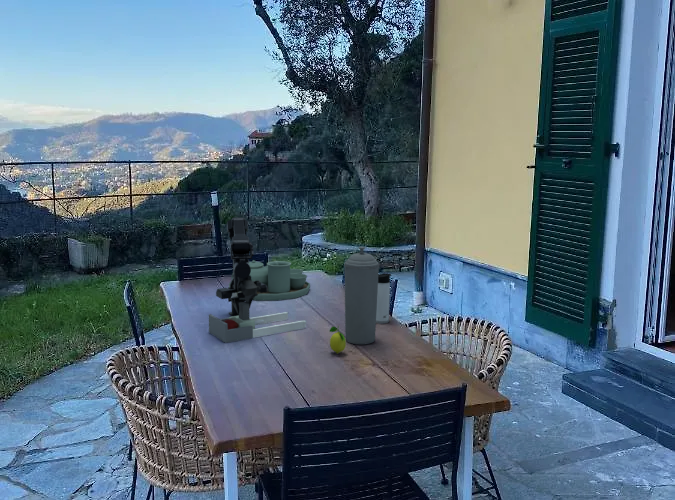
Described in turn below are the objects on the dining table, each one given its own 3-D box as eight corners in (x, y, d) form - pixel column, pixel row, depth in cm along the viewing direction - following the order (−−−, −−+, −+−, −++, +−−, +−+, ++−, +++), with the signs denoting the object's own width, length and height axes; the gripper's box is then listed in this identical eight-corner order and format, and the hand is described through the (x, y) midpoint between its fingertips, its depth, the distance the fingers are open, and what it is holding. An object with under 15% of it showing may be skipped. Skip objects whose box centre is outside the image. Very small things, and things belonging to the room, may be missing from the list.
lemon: (329, 350, 210) (329, 322, 209) (345, 350, 210) (346, 322, 208) (328, 356, 204) (328, 328, 202) (345, 356, 203) (346, 328, 202)
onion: (235, 327, 230) (215, 332, 226) (235, 314, 228) (215, 319, 224) (241, 335, 226) (221, 340, 222) (241, 322, 224) (221, 327, 219)
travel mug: (388, 324, 242) (390, 275, 238) (372, 323, 243) (373, 274, 240) (390, 320, 248) (391, 272, 244) (374, 318, 249) (375, 271, 246)
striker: (229, 329, 230) (228, 301, 228) (257, 324, 237) (256, 297, 235) (240, 336, 222) (239, 307, 220) (269, 331, 229) (269, 303, 227)
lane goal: (208, 332, 228) (208, 314, 227) (286, 319, 247) (286, 302, 246) (225, 343, 216) (224, 324, 215) (305, 328, 235) (306, 310, 234)
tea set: (325, 289, 302) (325, 256, 299) (276, 306, 268) (276, 270, 265) (262, 279, 322) (262, 248, 319) (210, 294, 288) (209, 260, 286)
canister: (381, 345, 216) (383, 249, 210) (346, 346, 214) (347, 250, 208) (373, 334, 228) (375, 243, 222) (340, 335, 226) (341, 244, 220)
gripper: (227, 279, 212) (229, 322, 215) (273, 272, 223) (274, 313, 225) (214, 274, 221) (216, 314, 224) (259, 267, 232) (261, 306, 234)
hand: (242, 312), depth 227 cm, fingers open, 3 cm apart
